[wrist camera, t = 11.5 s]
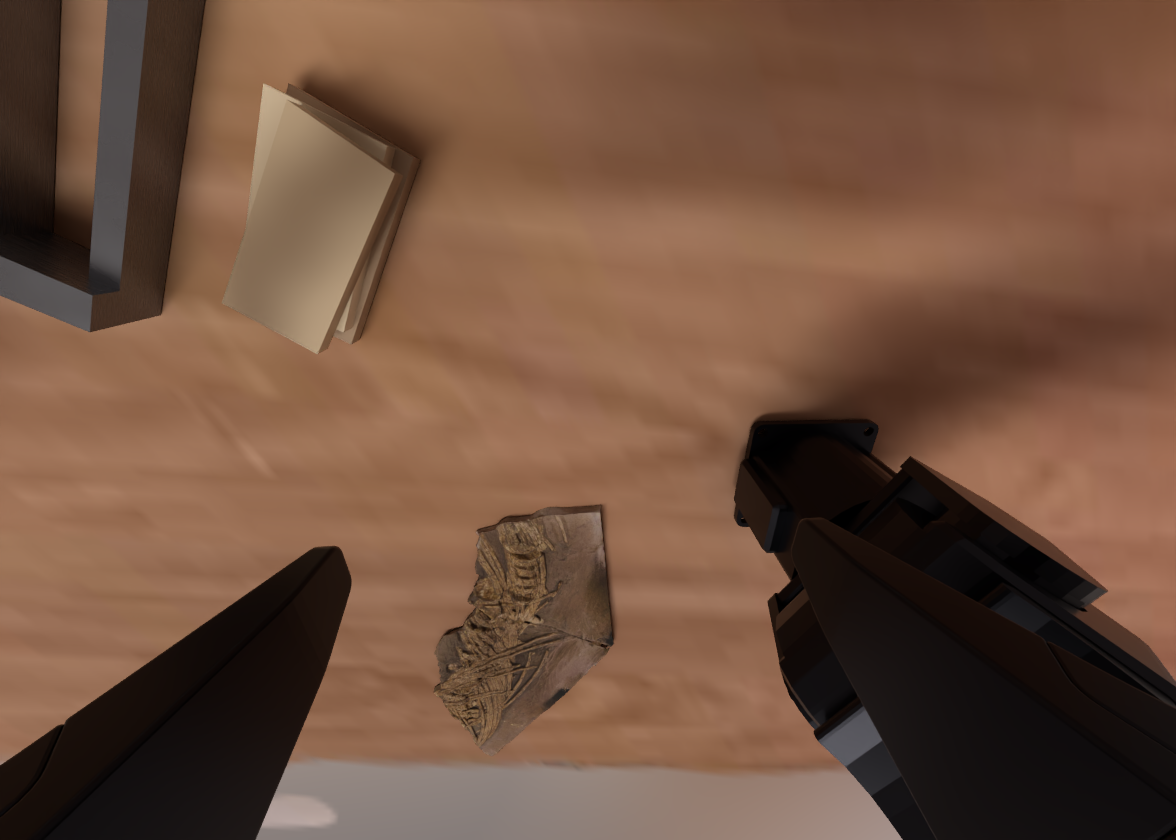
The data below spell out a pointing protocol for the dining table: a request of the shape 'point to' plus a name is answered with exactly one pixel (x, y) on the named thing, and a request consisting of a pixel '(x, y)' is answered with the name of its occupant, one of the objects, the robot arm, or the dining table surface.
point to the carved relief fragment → (527, 622)
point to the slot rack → (124, 160)
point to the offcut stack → (317, 220)
